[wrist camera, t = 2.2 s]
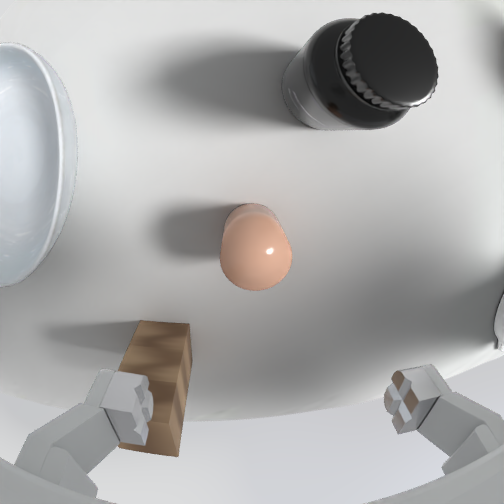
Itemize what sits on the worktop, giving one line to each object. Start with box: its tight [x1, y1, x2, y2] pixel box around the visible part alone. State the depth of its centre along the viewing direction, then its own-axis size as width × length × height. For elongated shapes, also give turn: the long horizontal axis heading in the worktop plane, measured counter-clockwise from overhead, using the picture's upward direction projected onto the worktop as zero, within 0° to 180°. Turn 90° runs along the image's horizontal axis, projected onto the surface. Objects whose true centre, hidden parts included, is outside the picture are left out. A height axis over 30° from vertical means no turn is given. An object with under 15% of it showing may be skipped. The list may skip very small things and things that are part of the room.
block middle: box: [118, 345, 188, 419], centre depth 23 cm, size 5×5×4 cm
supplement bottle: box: [282, 13, 438, 130], centre depth 15 cm, size 7×7×12 cm
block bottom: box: [129, 320, 192, 386], centre depth 26 cm, size 5×5×4 cm
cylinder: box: [220, 203, 292, 291], centre depth 22 cm, size 5×5×6 cm
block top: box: [118, 380, 183, 457], centre depth 19 cm, size 5×5×4 cm
